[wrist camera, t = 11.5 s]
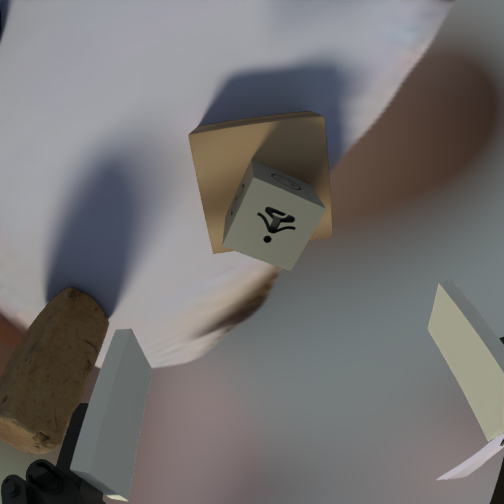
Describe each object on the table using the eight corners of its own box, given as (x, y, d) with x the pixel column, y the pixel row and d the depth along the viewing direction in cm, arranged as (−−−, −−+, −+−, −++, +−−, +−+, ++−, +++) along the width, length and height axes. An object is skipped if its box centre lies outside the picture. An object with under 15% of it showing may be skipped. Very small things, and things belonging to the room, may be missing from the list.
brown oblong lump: (80, 275, 34) (1, 412, 17) (120, 319, 37) (70, 461, 20) (36, 307, 36) (-31, 421, 19) (71, 344, 40) (22, 461, 22)
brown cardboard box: (198, 125, 27) (188, 135, 22) (308, 110, 27) (324, 116, 22) (217, 224, 32) (213, 253, 27) (316, 210, 32) (332, 237, 27)
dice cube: (310, 185, 24) (326, 209, 20) (282, 238, 26) (290, 271, 22) (251, 158, 23) (253, 177, 19) (225, 216, 25) (222, 246, 21)
